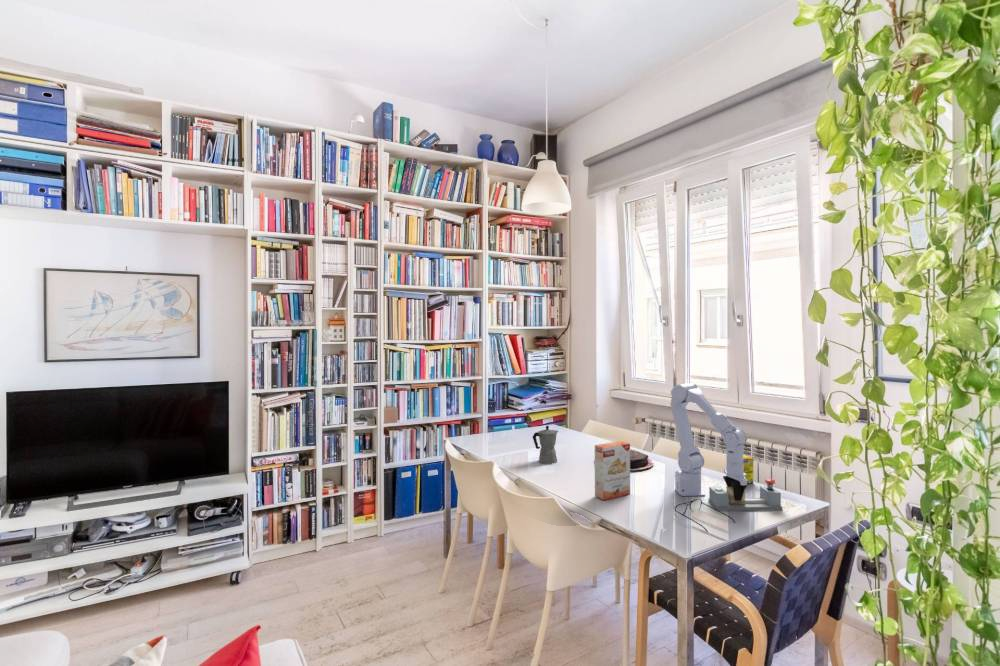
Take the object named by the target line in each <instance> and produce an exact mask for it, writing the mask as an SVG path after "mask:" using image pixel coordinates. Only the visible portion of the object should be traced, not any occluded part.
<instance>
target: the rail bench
mask: <svg viewBox="0 0 1000 666" xmlns="http://www.w3.org/2000/svg"><path fill="white" fill-rule="evenodd" d="M708 489H709V492H708V493H709V494H708V495H709V497H708V499H707V500H708V503H710V505H712V506H713V508H715V509H717V510H719V511H721V512H723V511H724V512H725V511H729V512H730V511H783V506H782V503H781V502H782V499H781V496H782V494H781V492H780V491H779V490H777V489H776V488H774V487H773V491H768V490H767V485H764V486H763V485H761V486H759V497H745V504H731V503H730V500H729V499H728V493H727V490H725V489H723V488H722V487H721V486H709V488H708Z"/></svg>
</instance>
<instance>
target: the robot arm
mask: <svg viewBox="0 0 1000 666" xmlns="http://www.w3.org/2000/svg"><path fill="white" fill-rule="evenodd" d="M670 395H671V400H670V408H671V409H670V410H671V412H672V417H673V421H674V426H675V429H676V432H677V434H676V435H677V437H678V441H679V445H680V449H679V450H678V453H677V455H678V456H677V457H678V460H677V465H678V468H679V470H677V471H675V475H674V476H675V478H674V479H675V480H674V481H675V482H674V483H675V486H674V487H675V488H674V489H675V491H676V492H677V493H678V494H679V496H681V497H689V496H690V497H693V496H696V497H700V496H701V497H704V496H706V494H705V493H704V492H703V491H702V467H703V466H704V465H705V457H704V456H703V455H702V453H701V449H699V448H698V446H696V445H695V440H694V436H693V432H692V429H691V425H690V421H689V417H688V416H689V415H688V413H687V406H688V404H689V403H692V404H696V405H697V406H698V407H699V408H700V409H701V410H702V411H703V412H704V414H706V415H707V417H709V418H710V424H711V425H712V426H713V427H714V428H715V429H716V430H717V432H718V433H719V434H720V435H721V436H722V440H723V443H724V444H725V449H726V454H725V455H726V458H725V459H726V467H723V473H724V474H725V475H723V476H722V478H723V480H724V483H725V484H726V488H727V487H732V488H733V492H734V498H735V500H736V501H741V500H742V496H743V493H744V490H745V491H746V488H747V486H748V485H749V484H748V483H747V480H746V479H745V476H747V474H746V473H744V471H743V455H744V443H745V442H746V440H747V436H746V435H747V434H746V433H745V432H744V430H743V429H741V428H738V427H737V426H736V425H735V424H733V423H732V422H731V421H730V419H728V416H727V415H726V414H724V413H722V412H718V411H717V410H716V409H715V407H714V406H713V405H712V404H711V402H710V401H709V400H708V399H707V398H706V397H705V395H704V394H703V392H702V389H701V388H700V387H699V386H698V385H697V384H696V383H694V382H688V383H684V384H683V383H681V384H676V385H674V386H673V387H672V389H671V390H670Z"/></svg>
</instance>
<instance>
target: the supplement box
mask: <svg viewBox="0 0 1000 666" xmlns="http://www.w3.org/2000/svg"><path fill="white" fill-rule="evenodd" d="M743 471H744V473H746V474H747V476H745V479H746V480H747V483H748V485H749V484H754V457H752V456H750V455H749V456H748V455H746V454H743ZM749 482H751V483H749Z"/></svg>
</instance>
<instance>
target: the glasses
mask: <svg viewBox="0 0 1000 666" xmlns="http://www.w3.org/2000/svg"><path fill="white" fill-rule="evenodd" d="M697 500H700V506H699V508H698V510H700V509H701V507H702V504H703V505H704V506H707V507H709V508H710V509H713V510H715V511H716V512H718V513H720V514H722V515H724V516H725V517H727V518H729V519H730V520H731V521H733V523H734V524H737V522H736V521H735V519H733V517H732V516H729V515H728V514H727V513H724V512H723V511H719V510H717V509H716V508H715V507H714V506H713V507H712V506H711V505H709V504H706V503H704V502H703V501H702V499H701V498H696V499H694V500H691V501H687V502H682V503H678V504H677V505H676V506H675V507H674V512H675V513H678V514H679V515H681V516H683V517H684V518H687V519H688V520H690V521H691V522H693V523H695V524H697V525H699V526H700V527H702V528H703V529H704V531H706V532H707V533H709V531H708V530H707V528H705V527H704V526H703V525H702V524H701V523H699V522H697V521H695V520H694V519H692V518H690V517H688V516H687V515H685V513H686V512H687V509H688V506H689V509H690V510H691V512H694V511H693V510H692V508H691V506H692V505H691V504H692V503H694V502H695V501H697ZM683 504H684V505H686V506H685V509H684V512H683V513H681V512H680V511H677V507H678V506H681V505H683ZM674 516H675V517H678V516H677V515H676V514H674Z"/></svg>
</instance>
